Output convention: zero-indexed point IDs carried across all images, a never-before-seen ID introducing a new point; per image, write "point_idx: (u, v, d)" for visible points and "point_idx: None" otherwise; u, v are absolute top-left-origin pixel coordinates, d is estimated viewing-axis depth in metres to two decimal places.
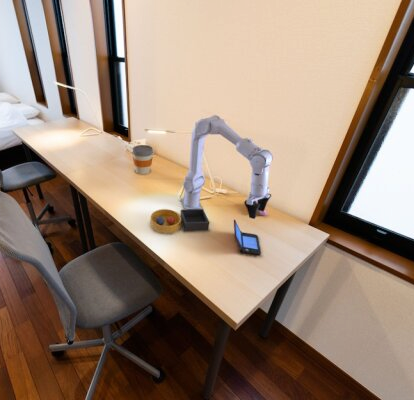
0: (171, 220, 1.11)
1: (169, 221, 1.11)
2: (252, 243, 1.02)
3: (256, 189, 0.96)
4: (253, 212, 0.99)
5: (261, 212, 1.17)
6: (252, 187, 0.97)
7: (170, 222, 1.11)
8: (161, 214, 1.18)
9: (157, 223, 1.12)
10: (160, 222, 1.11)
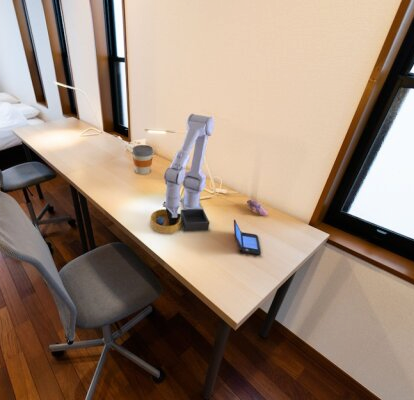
0: None
1: None
2: (252, 243, 1.02)
3: None
4: None
5: (261, 212, 1.17)
6: None
7: None
8: (161, 214, 1.18)
9: (157, 223, 1.12)
10: (160, 222, 1.11)
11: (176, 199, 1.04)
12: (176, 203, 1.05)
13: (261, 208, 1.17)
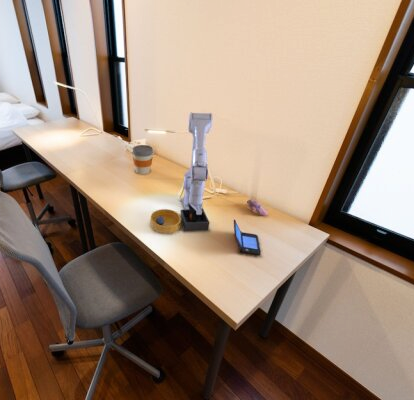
0: None
1: None
2: (252, 243, 1.02)
3: None
4: None
5: (261, 212, 1.17)
6: None
7: None
8: (161, 214, 1.18)
9: (157, 223, 1.12)
10: (160, 222, 1.11)
11: (200, 196, 1.06)
12: (200, 200, 1.07)
13: (261, 208, 1.17)
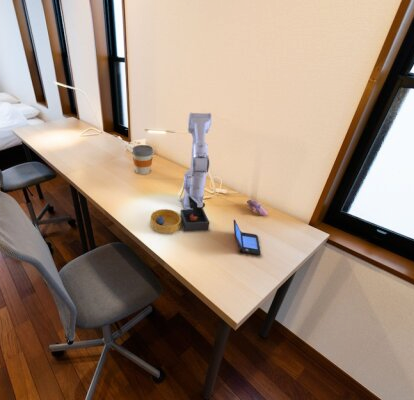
0: (194, 217, 1.13)
1: (192, 218, 1.13)
2: (252, 243, 1.02)
3: None
4: None
5: (261, 212, 1.17)
6: None
7: (193, 219, 1.13)
8: (161, 214, 1.18)
9: (157, 223, 1.12)
10: (160, 222, 1.11)
11: (201, 189, 1.04)
12: (201, 193, 1.05)
13: (261, 208, 1.17)
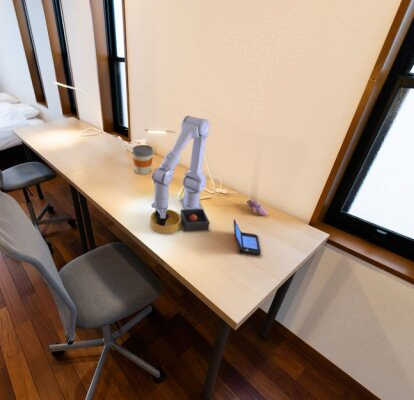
0: (194, 219, 1.13)
1: (192, 220, 1.13)
2: (252, 243, 1.02)
3: None
4: None
5: (261, 212, 1.17)
6: None
7: (193, 221, 1.13)
8: None
9: (157, 223, 1.12)
10: None
11: (164, 200, 1.04)
12: (165, 204, 1.05)
13: (261, 208, 1.17)
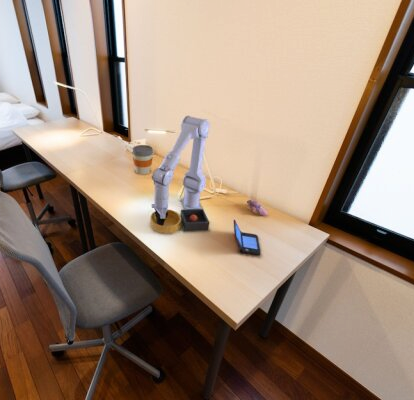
0: (194, 219, 1.12)
1: (192, 220, 1.13)
2: (252, 243, 1.02)
3: None
4: None
5: (261, 212, 1.17)
6: None
7: (193, 221, 1.13)
8: None
9: (157, 223, 1.12)
10: None
11: (164, 200, 1.04)
12: (164, 204, 1.05)
13: (261, 208, 1.17)
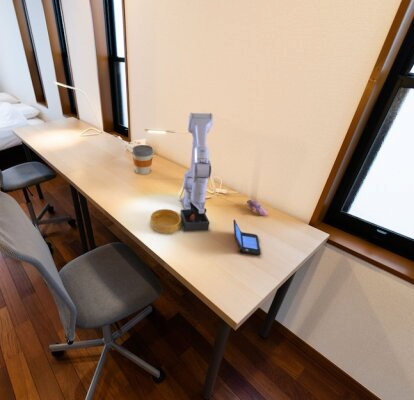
0: None
1: (192, 219, 1.13)
2: (252, 243, 1.02)
3: None
4: None
5: (261, 212, 1.17)
6: None
7: (193, 220, 1.13)
8: (161, 214, 1.18)
9: None
10: None
11: (203, 195, 1.02)
12: (203, 199, 1.03)
13: (261, 208, 1.17)
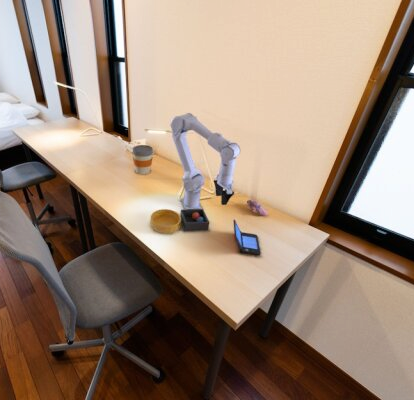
0: (198, 214, 1.15)
1: (196, 213, 1.14)
2: (252, 243, 1.02)
3: (228, 179, 1.05)
4: (226, 199, 1.09)
5: (261, 212, 1.17)
6: (224, 178, 1.05)
7: (196, 214, 1.14)
8: (161, 214, 1.18)
9: (197, 218, 1.13)
10: (197, 221, 1.12)
11: None
12: None
13: (261, 208, 1.17)
